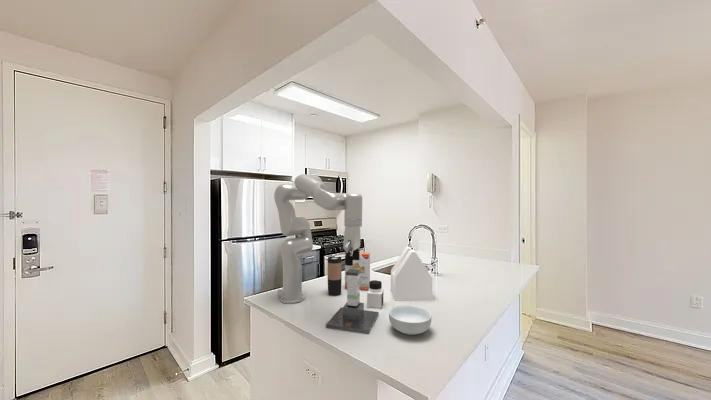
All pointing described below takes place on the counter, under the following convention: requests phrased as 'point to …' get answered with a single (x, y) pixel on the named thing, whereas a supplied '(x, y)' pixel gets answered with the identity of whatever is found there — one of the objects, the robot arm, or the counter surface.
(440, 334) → the counter surface
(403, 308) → the cereal bowl
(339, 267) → the travel mug
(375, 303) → the medicine bottle
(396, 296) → the white house-shaped block
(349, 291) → the column
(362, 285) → the cracker box
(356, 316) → the stand base
